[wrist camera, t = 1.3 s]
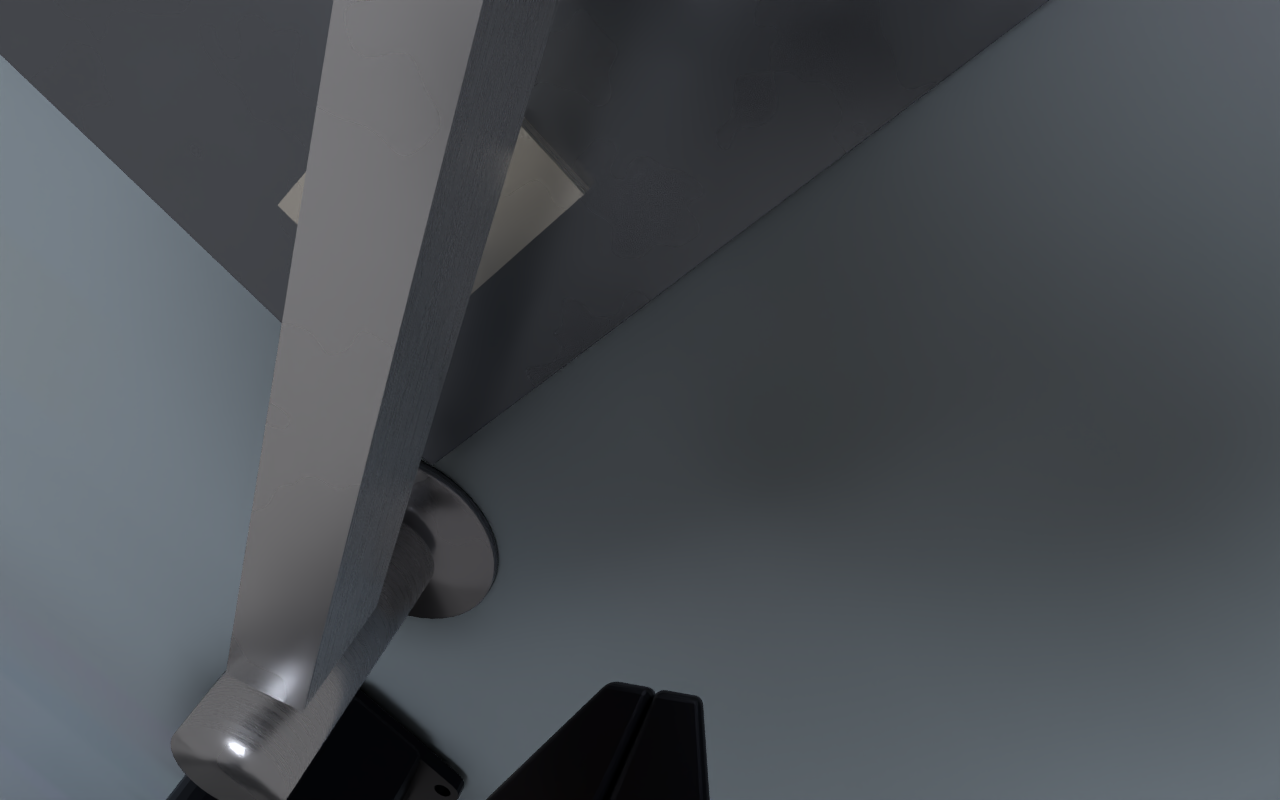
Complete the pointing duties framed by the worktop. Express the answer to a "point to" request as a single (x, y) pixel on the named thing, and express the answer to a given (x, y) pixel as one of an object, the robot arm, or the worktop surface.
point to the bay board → (544, 152)
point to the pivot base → (450, 545)
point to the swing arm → (362, 367)
